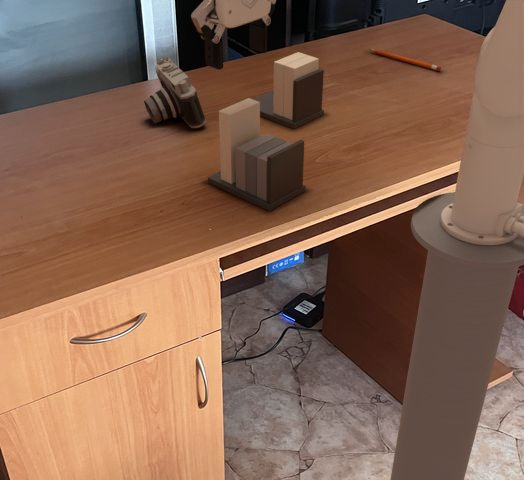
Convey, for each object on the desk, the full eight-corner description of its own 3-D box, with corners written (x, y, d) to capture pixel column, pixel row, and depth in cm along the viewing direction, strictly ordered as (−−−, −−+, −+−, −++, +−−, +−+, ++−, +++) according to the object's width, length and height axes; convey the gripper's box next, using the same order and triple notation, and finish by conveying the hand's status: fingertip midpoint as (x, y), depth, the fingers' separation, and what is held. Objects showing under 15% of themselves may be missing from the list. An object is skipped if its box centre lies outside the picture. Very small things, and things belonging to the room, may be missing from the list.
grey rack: (305, 191, 131) (307, 140, 125) (269, 211, 126) (269, 159, 120) (244, 164, 138) (243, 115, 132) (207, 182, 133) (205, 132, 127)
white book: (259, 169, 134) (260, 101, 127) (231, 184, 130) (229, 115, 123) (249, 165, 136) (248, 97, 128) (220, 179, 132) (218, 110, 124)
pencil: (438, 71, 171) (439, 67, 171) (367, 51, 181) (367, 47, 180) (440, 70, 172) (441, 66, 171) (369, 50, 181) (369, 46, 181)
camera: (142, 113, 158) (124, 67, 151) (180, 95, 159) (163, 49, 152) (169, 144, 147) (151, 97, 140) (209, 124, 149) (193, 76, 142)
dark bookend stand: (323, 114, 154) (327, 58, 147) (294, 129, 149) (295, 71, 142) (270, 95, 162) (271, 41, 154) (240, 108, 156) (239, 52, 149)
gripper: (211, -48, 103) (214, 80, 114) (296, -70, 113) (291, 50, 124) (172, -59, 106) (178, 67, 118) (258, -79, 116) (256, 38, 127)
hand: (236, 58), depth 121 cm, fingers open, 9 cm apart
